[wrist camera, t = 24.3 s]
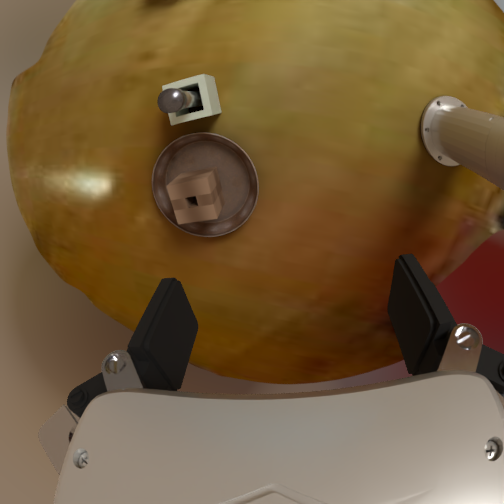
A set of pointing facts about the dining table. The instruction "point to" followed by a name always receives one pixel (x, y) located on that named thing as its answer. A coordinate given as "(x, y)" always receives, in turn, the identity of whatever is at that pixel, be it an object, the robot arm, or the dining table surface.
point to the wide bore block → (207, 96)
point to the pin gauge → (178, 100)
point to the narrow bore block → (196, 195)
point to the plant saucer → (230, 173)
